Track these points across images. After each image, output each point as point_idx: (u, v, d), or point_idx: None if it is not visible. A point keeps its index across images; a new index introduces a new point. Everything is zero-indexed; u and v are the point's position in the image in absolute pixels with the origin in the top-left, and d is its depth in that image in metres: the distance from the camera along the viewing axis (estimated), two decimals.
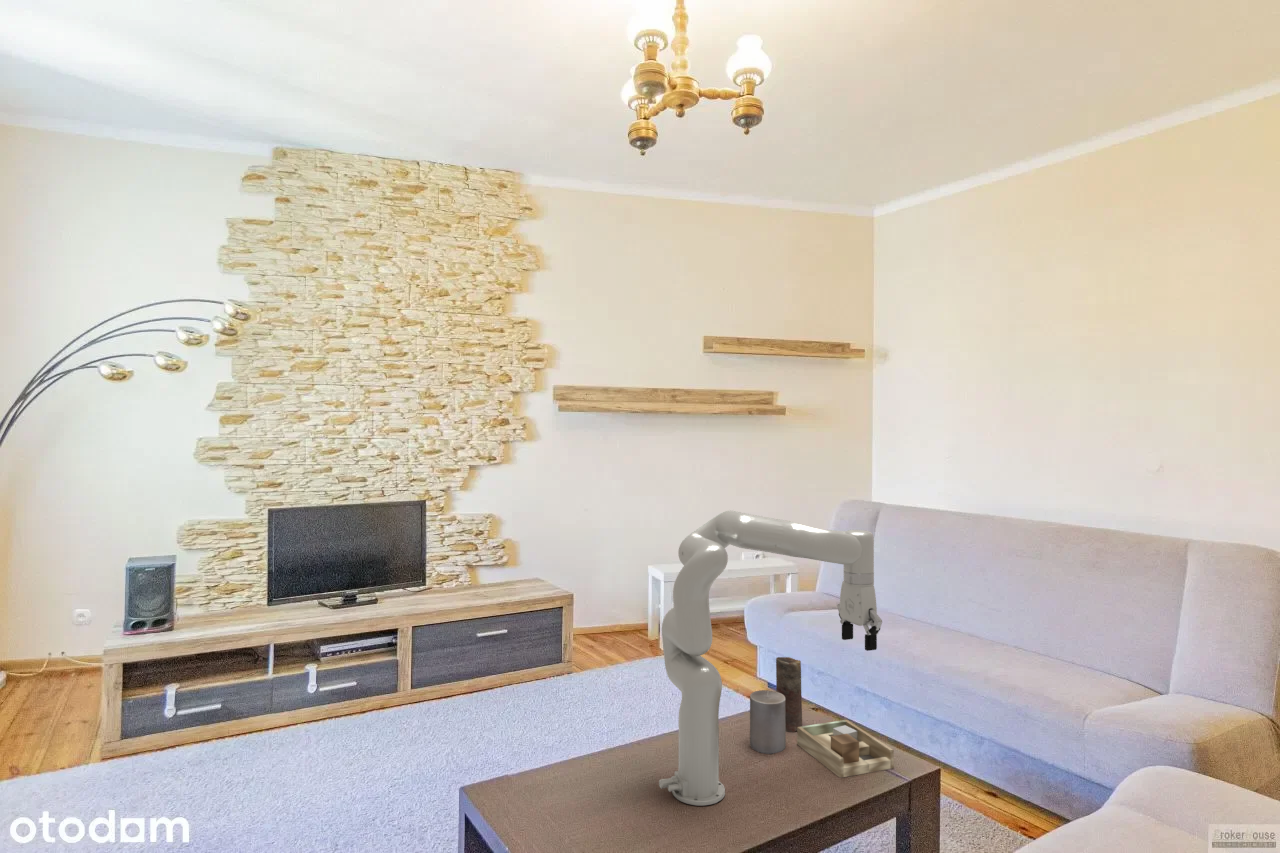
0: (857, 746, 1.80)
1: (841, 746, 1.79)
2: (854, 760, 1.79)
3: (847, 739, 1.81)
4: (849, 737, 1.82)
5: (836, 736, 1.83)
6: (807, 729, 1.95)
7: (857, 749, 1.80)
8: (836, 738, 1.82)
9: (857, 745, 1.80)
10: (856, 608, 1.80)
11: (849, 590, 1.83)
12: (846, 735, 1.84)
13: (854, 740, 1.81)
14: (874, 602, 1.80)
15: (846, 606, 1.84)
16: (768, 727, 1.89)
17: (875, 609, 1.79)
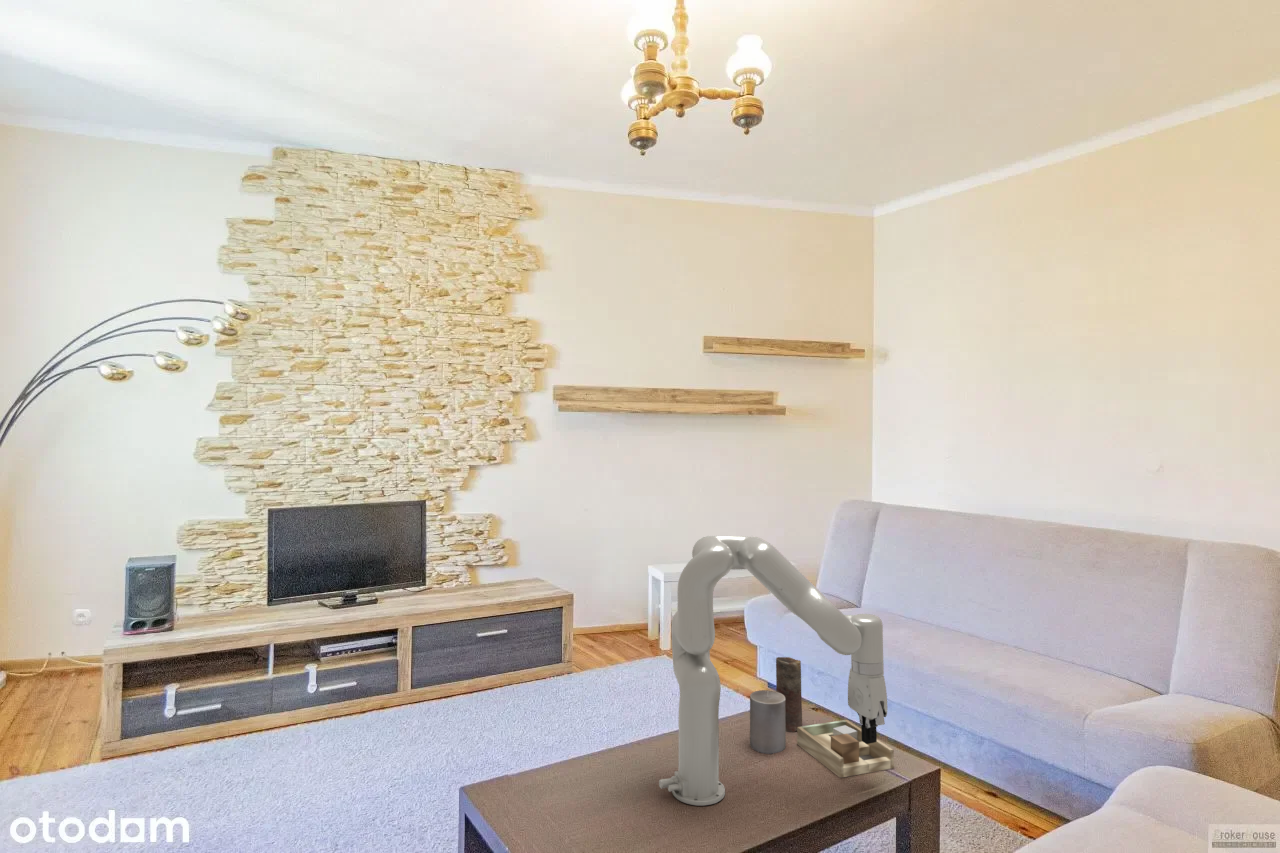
0: (857, 746, 1.80)
1: (841, 746, 1.79)
2: (854, 760, 1.79)
3: (847, 739, 1.81)
4: (849, 737, 1.82)
5: (836, 736, 1.83)
6: (807, 729, 1.95)
7: (857, 749, 1.80)
8: (836, 738, 1.82)
9: (857, 745, 1.80)
10: (865, 700, 1.70)
11: (858, 680, 1.72)
12: (846, 735, 1.84)
13: (854, 740, 1.81)
14: (884, 694, 1.69)
15: (855, 696, 1.74)
16: (768, 727, 1.89)
17: (886, 701, 1.69)
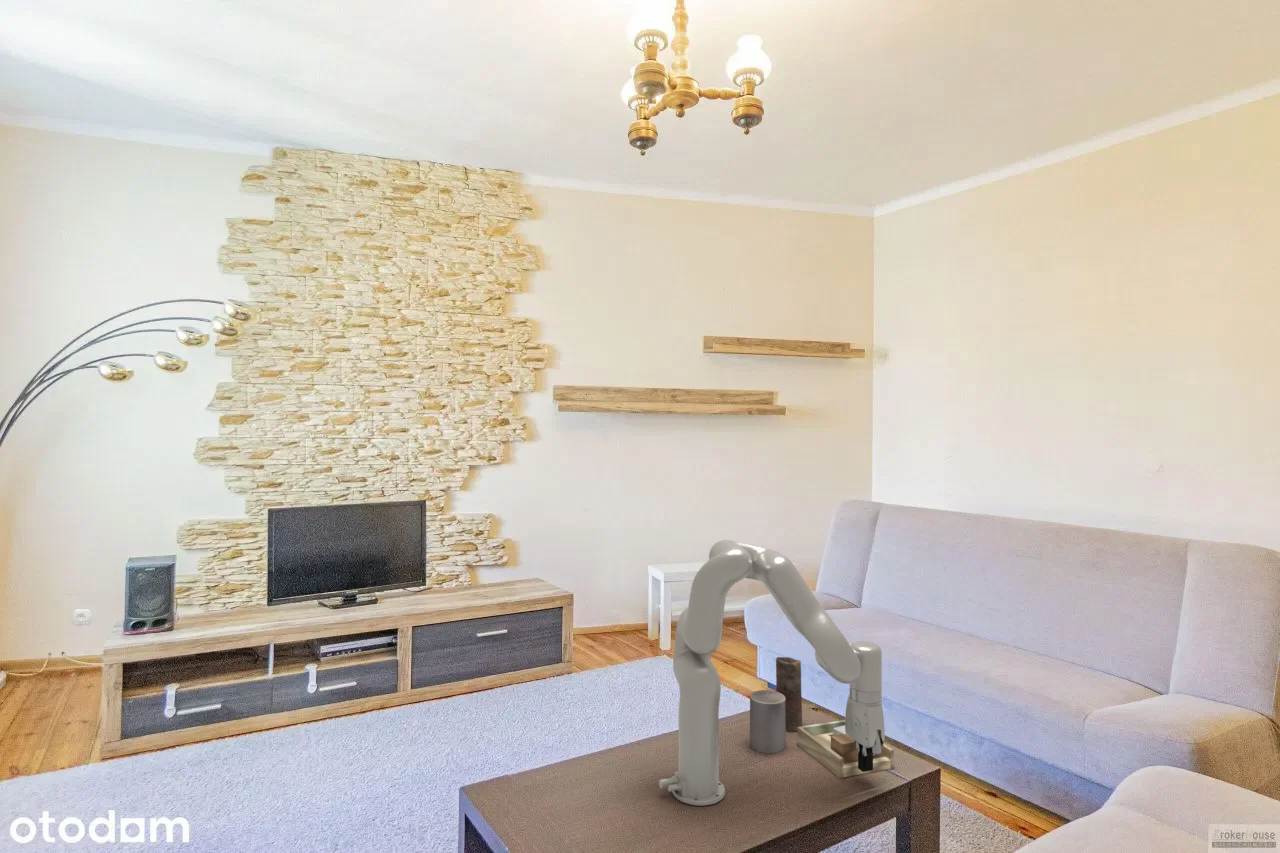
0: None
1: (841, 746, 1.79)
2: (854, 760, 1.79)
3: (847, 739, 1.81)
4: (849, 737, 1.82)
5: (836, 736, 1.83)
6: (807, 729, 1.95)
7: None
8: (836, 738, 1.82)
9: None
10: (863, 728, 1.70)
11: (855, 708, 1.73)
12: (846, 735, 1.84)
13: (854, 740, 1.81)
14: (882, 723, 1.69)
15: (852, 723, 1.74)
16: (768, 727, 1.89)
17: (883, 730, 1.69)
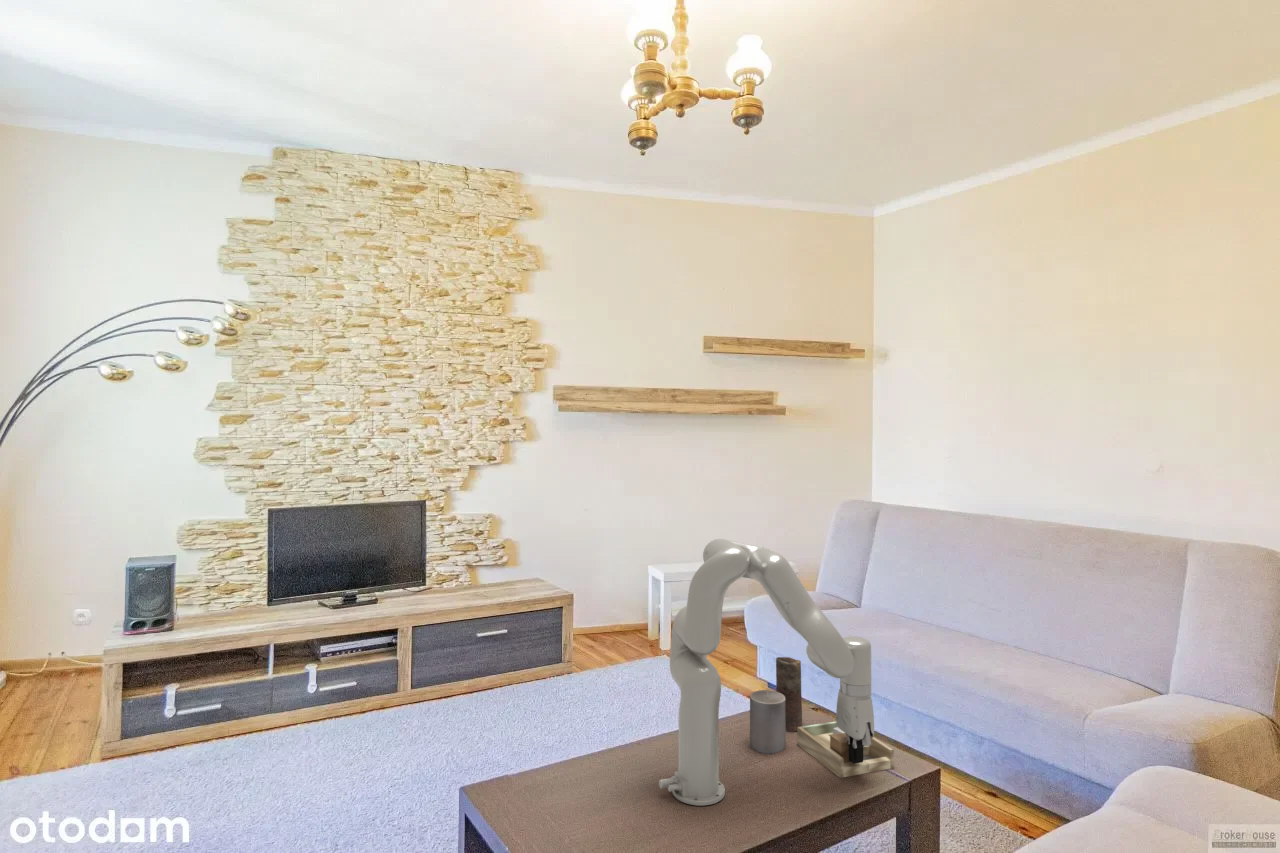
0: None
1: (840, 744, 1.79)
2: None
3: (846, 738, 1.82)
4: None
5: (835, 735, 1.84)
6: (807, 729, 1.95)
7: None
8: (835, 737, 1.82)
9: None
10: (853, 721, 1.74)
11: (846, 701, 1.77)
12: (845, 734, 1.84)
13: None
14: (871, 715, 1.73)
15: (843, 717, 1.78)
16: (767, 727, 1.89)
17: (872, 723, 1.73)
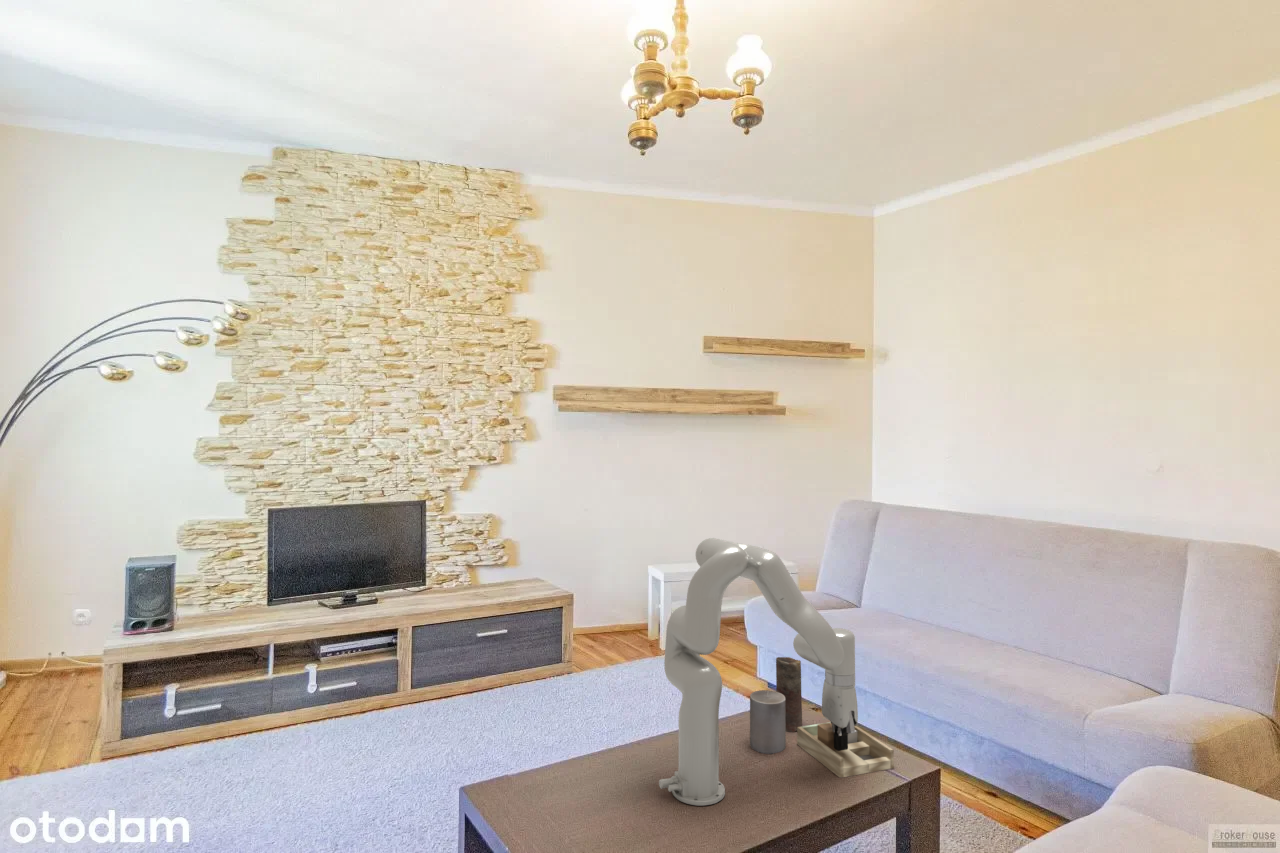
0: None
1: (827, 733, 1.86)
2: None
3: None
4: None
5: (823, 725, 1.90)
6: (807, 729, 1.95)
7: None
8: (822, 726, 1.89)
9: None
10: (837, 710, 1.80)
11: (830, 691, 1.83)
12: None
13: None
14: (855, 704, 1.80)
15: (828, 706, 1.84)
16: (768, 727, 1.89)
17: (856, 711, 1.80)
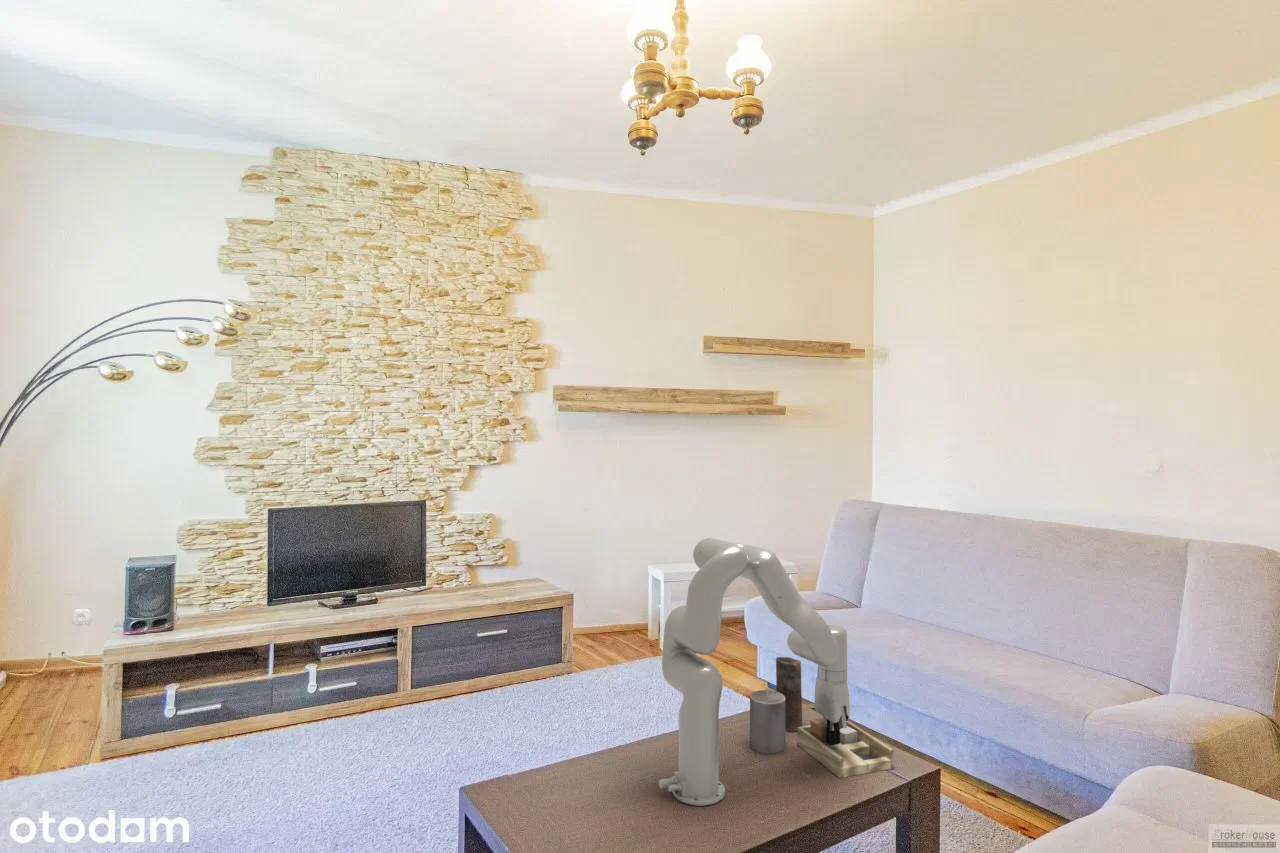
0: None
1: (819, 728, 1.89)
2: None
3: None
4: None
5: (815, 720, 1.93)
6: (807, 729, 1.95)
7: None
8: (815, 721, 1.92)
9: None
10: (829, 705, 1.84)
11: (823, 686, 1.86)
12: None
13: None
14: (847, 699, 1.83)
15: (820, 701, 1.88)
16: (768, 727, 1.89)
17: (848, 706, 1.83)
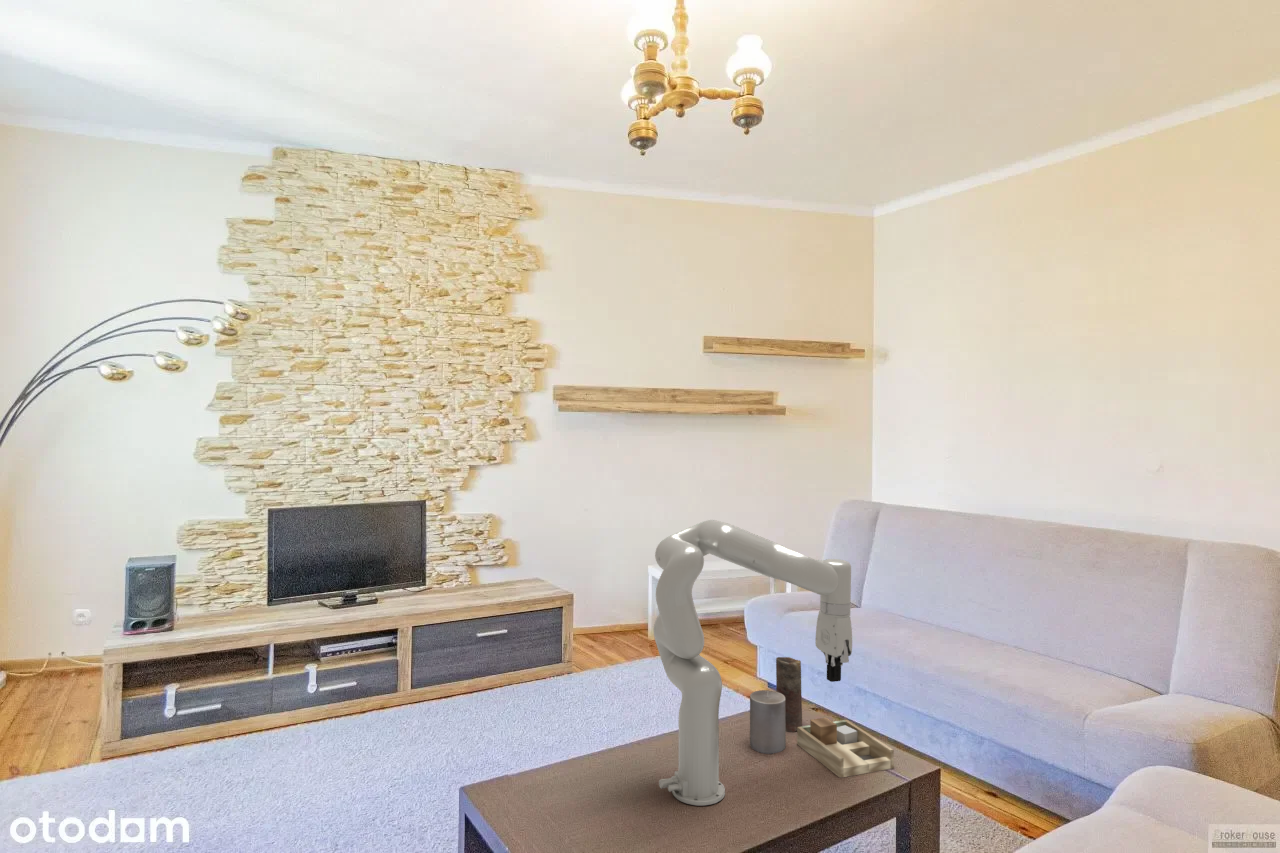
0: (835, 729, 1.90)
1: (819, 728, 1.89)
2: (832, 742, 1.90)
3: (825, 722, 1.92)
4: (828, 720, 1.93)
5: (815, 720, 1.93)
6: (807, 729, 1.95)
7: (835, 732, 1.90)
8: (815, 721, 1.92)
9: (835, 728, 1.90)
10: (831, 639, 1.78)
11: (825, 621, 1.81)
12: (825, 719, 1.94)
13: (832, 723, 1.91)
14: (850, 633, 1.78)
15: (822, 636, 1.82)
16: (768, 727, 1.89)
17: (851, 640, 1.78)
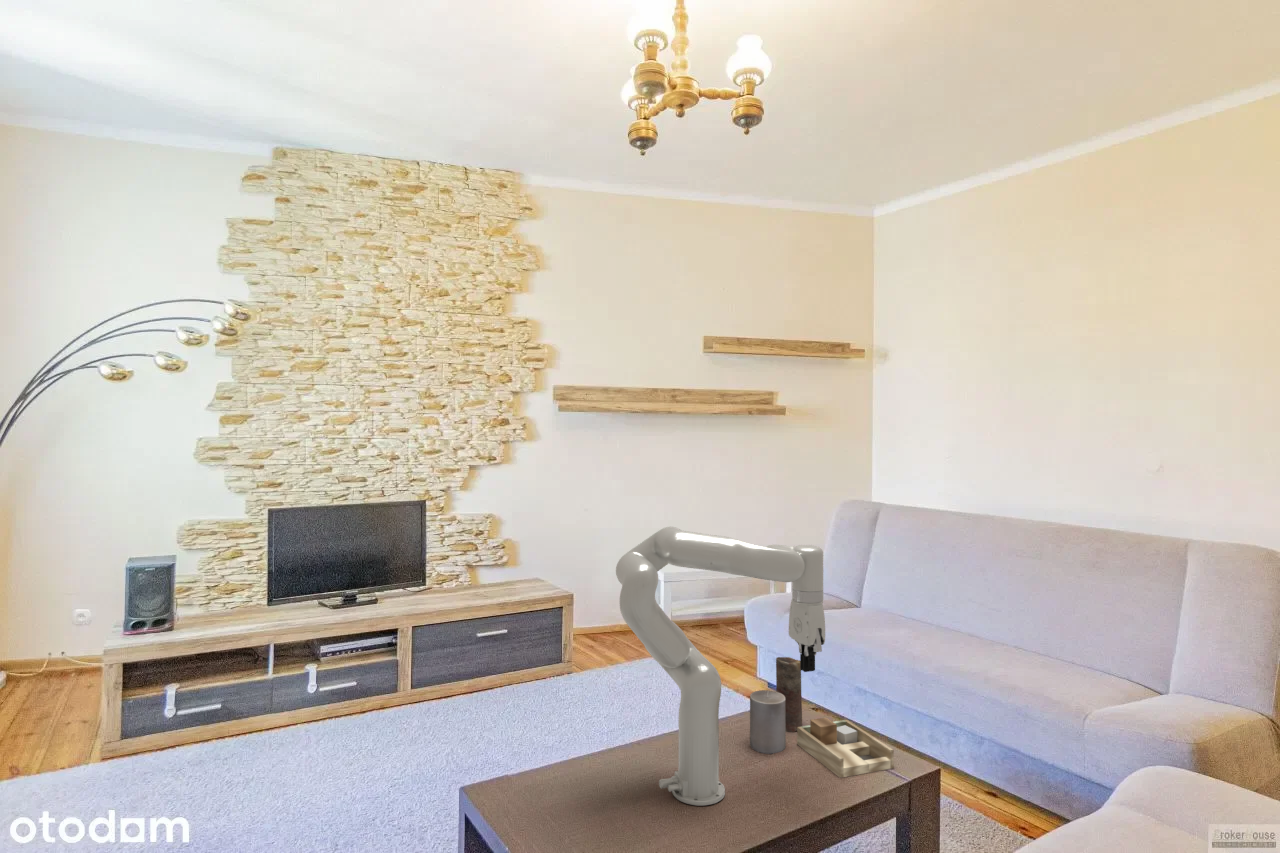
0: (835, 729, 1.90)
1: (819, 728, 1.89)
2: (832, 742, 1.90)
3: (825, 722, 1.92)
4: (828, 720, 1.93)
5: (815, 720, 1.93)
6: (807, 729, 1.95)
7: (835, 732, 1.90)
8: (815, 721, 1.92)
9: (835, 728, 1.90)
10: (804, 628, 1.72)
11: (797, 609, 1.75)
12: (825, 719, 1.94)
13: (832, 723, 1.91)
14: (822, 621, 1.71)
15: (795, 625, 1.76)
16: (768, 727, 1.89)
17: (823, 629, 1.71)
